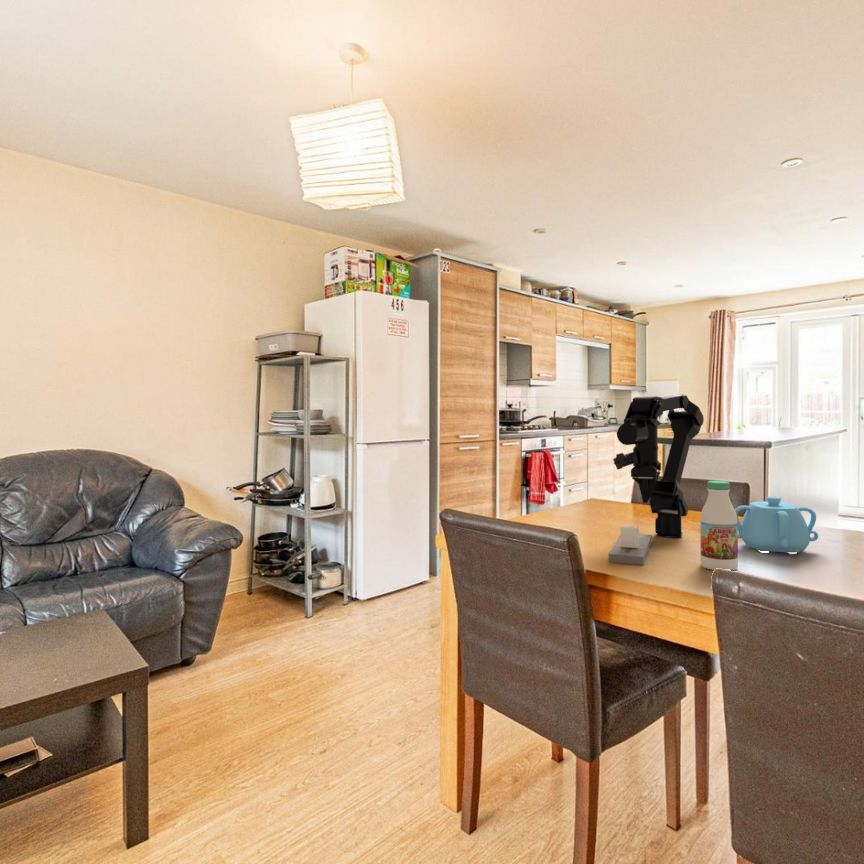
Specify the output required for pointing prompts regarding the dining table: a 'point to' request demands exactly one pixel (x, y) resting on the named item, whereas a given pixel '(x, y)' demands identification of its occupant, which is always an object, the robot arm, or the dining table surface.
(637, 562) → the console
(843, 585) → the dining table surface
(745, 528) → the decorative pot
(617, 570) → the dining table surface
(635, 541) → the fader cap
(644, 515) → the dining table surface
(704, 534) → the milk bottle
